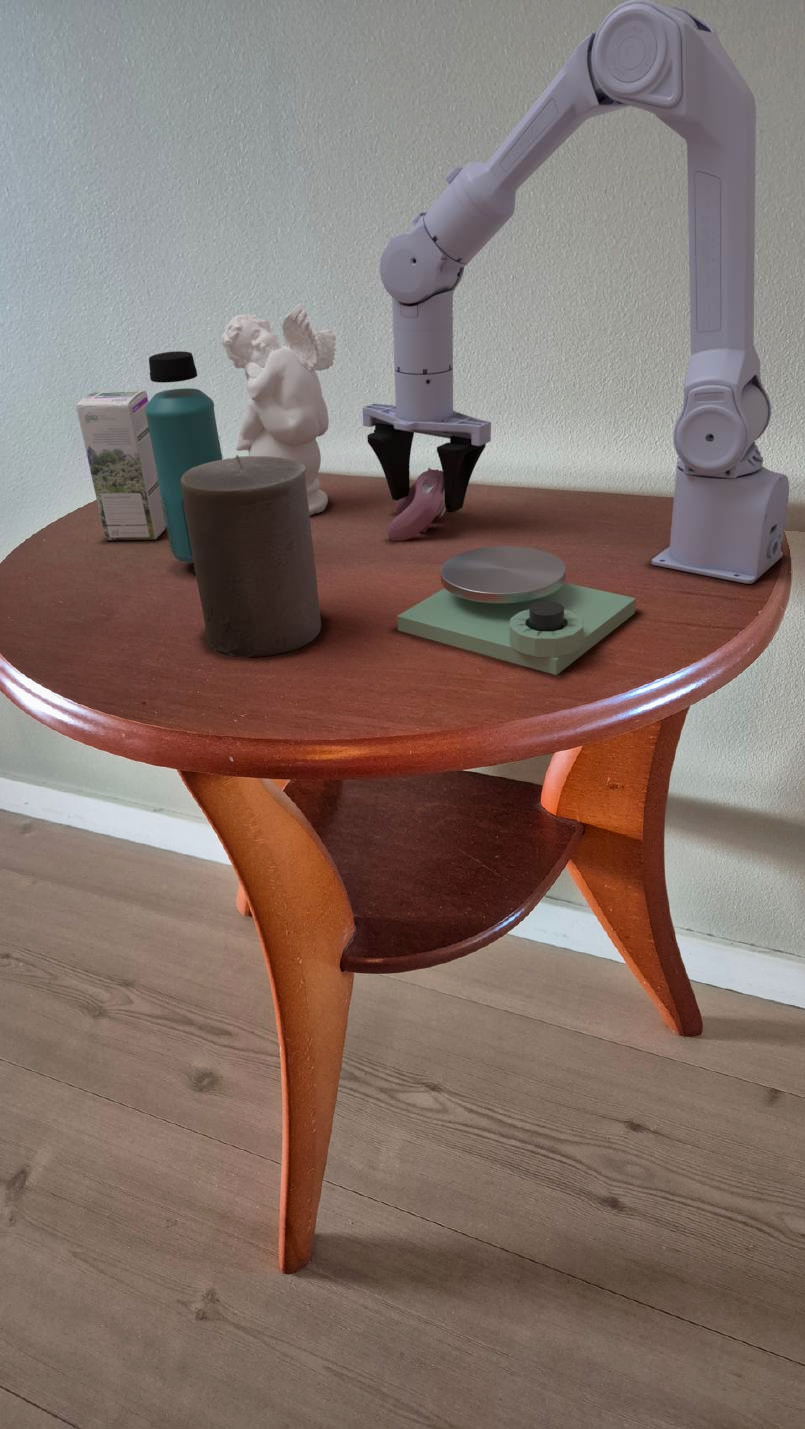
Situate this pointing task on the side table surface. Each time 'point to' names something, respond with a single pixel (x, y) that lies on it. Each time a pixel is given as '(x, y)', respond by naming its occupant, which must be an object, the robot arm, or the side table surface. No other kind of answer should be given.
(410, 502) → the video game controller
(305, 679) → the side table surface
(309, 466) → the cherub figurine
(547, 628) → the tare button
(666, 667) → the side table surface
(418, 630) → the scale
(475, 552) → the scale pan
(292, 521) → the pillar candle
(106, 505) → the syrup box
